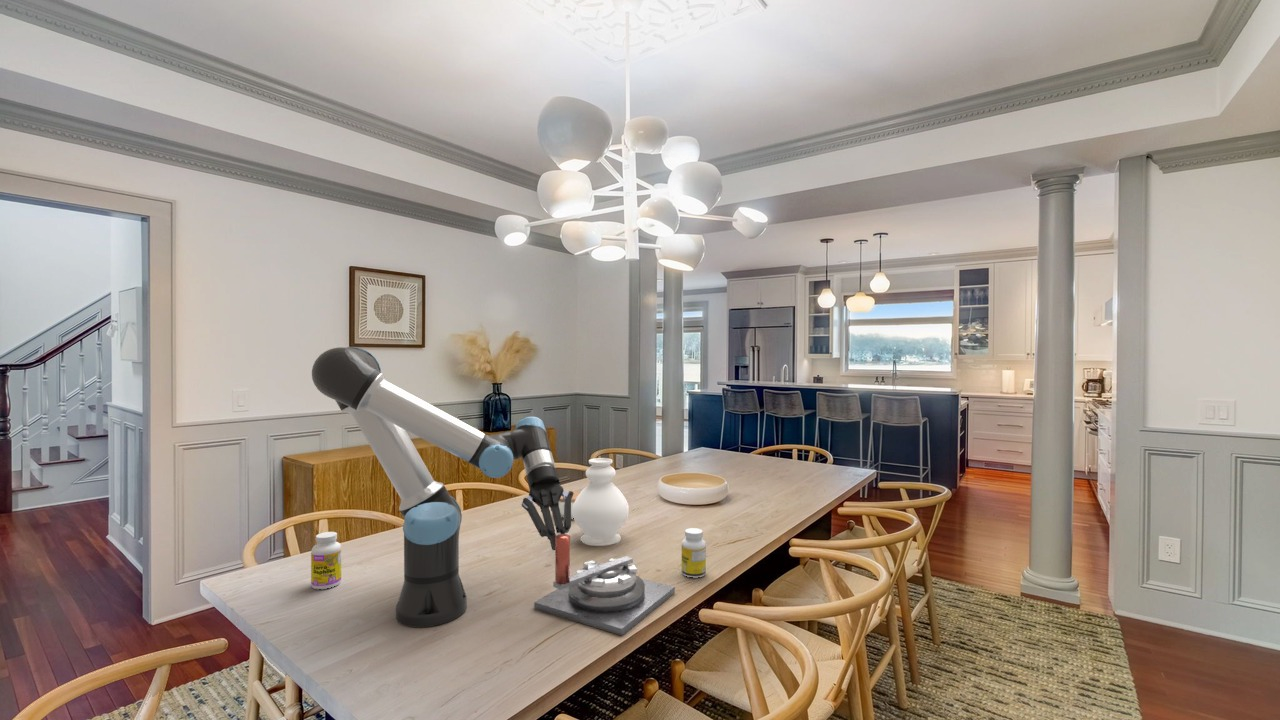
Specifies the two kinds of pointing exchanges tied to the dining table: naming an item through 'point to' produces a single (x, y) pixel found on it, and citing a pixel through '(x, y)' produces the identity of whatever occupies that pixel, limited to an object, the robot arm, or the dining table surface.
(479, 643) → the dining table surface
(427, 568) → the robot arm
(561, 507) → the lidded jar
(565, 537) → the red grip crank lever
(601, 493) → the decorative vase
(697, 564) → the pill bottle
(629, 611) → the grey crank base
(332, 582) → the supplement bottle
